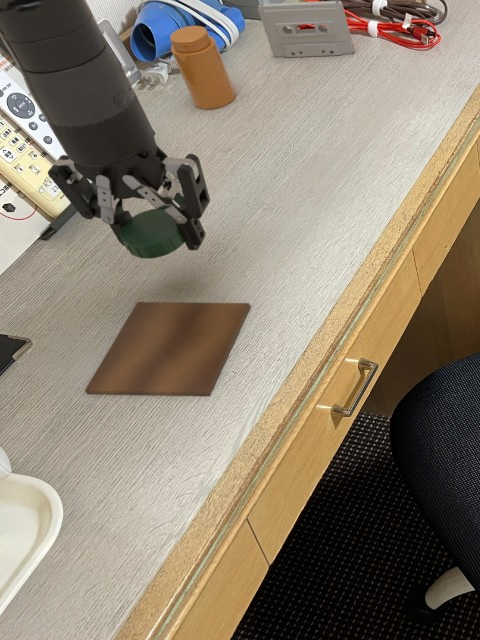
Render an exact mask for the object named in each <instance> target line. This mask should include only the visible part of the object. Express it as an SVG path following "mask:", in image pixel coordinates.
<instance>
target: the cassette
mask: <svg viewBox="0 0 480 640" xmlns="http://www.w3.org/2000/svg"><path fill="white" fill-rule="evenodd" d="M257 11H258V14H259V18H260V20H261V23H262V26H263V30H264V32H265V35H266V38H267V42H268V44H269V47H270V50H271V53H272V56H273V57H276V58H282V57H284V58H307V57H329V56H342V55H352V54H353V53H354V52H355V47H354V43H353V39H352V34H351V31H350V27H349V24H348V19H347V16H346V15H347V14H346V12H345V7H344V5H343V2H342V1H341V0H326V1H325V0H321V1H301V2H300V1H298V2H277V3H276V2H275V3H274V2H273V3H260V4H258V6H257ZM301 25H305V26H306V25H314V28H307V29H305V28H303V29H299V26H301Z"/></svg>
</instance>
